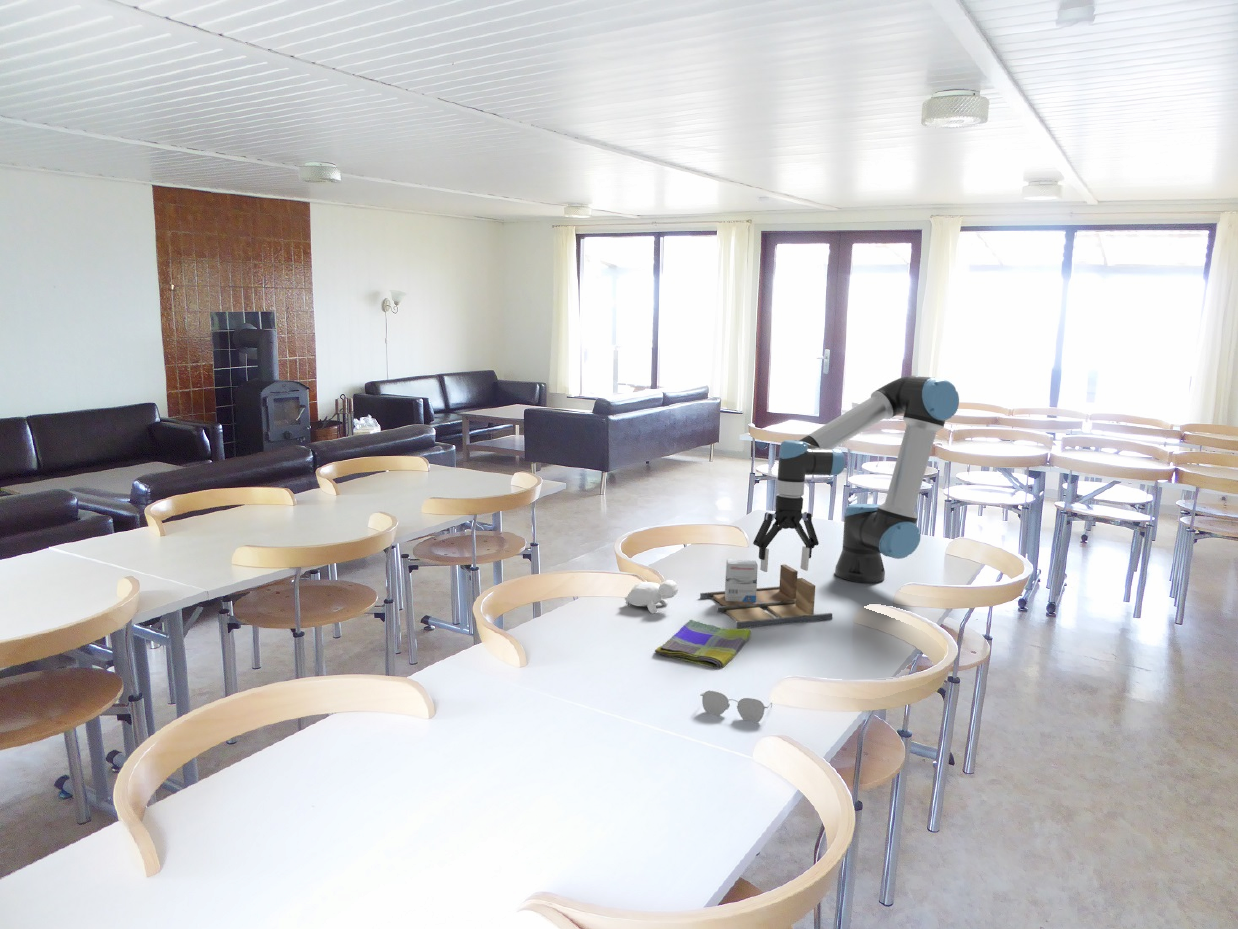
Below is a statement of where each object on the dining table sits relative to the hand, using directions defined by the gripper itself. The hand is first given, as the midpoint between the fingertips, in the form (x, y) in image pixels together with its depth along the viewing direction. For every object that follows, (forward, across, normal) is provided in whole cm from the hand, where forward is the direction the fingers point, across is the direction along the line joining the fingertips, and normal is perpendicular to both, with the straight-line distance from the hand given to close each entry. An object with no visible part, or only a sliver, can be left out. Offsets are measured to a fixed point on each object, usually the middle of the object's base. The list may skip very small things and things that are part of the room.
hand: (784, 570), depth 240 cm
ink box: (+10, +12, -2) cm, 16 cm away
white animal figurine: (+11, +38, -5) cm, 40 cm away
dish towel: (+13, +35, +24) cm, 44 cm away
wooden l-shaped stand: (+10, +9, +10) cm, 16 cm away
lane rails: (+10, +8, +4) cm, 13 cm away
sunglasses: (+15, +43, +57) cm, 73 cm away
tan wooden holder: (+9, +7, -2) cm, 12 cm away
